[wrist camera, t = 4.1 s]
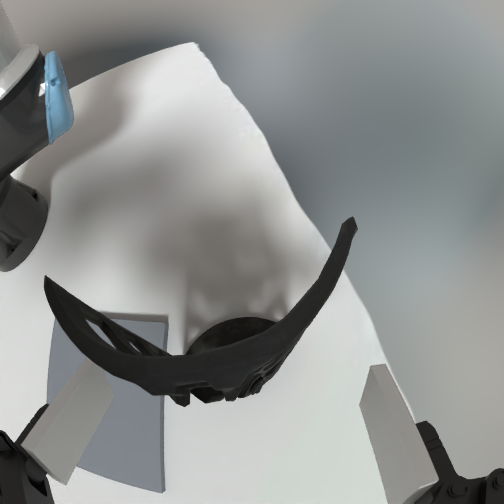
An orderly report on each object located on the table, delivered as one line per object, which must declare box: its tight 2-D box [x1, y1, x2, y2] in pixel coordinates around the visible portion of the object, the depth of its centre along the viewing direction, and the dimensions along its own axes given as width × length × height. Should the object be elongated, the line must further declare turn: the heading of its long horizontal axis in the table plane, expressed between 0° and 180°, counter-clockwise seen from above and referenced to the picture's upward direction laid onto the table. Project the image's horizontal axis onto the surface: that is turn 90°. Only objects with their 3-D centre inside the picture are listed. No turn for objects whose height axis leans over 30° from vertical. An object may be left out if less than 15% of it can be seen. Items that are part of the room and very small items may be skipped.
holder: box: [44, 217, 358, 407], centre depth 16 cm, size 11×8×20 cm
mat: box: [47, 317, 168, 493], centre depth 22 cm, size 18×15×1 cm
